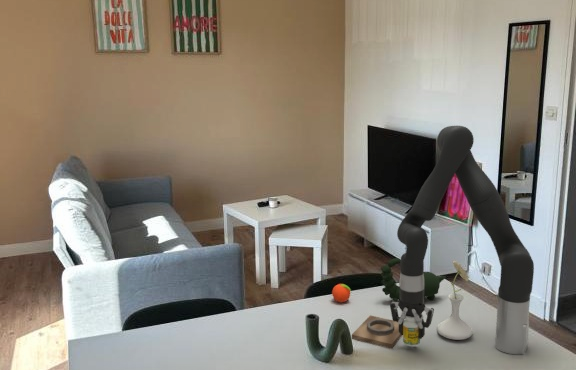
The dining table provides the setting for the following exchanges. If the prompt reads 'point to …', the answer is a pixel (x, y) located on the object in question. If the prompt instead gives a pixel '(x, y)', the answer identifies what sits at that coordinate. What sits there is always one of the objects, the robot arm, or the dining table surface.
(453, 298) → the flower in vase
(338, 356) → the dining table surface
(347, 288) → the clementine
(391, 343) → the collar board
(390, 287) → the toy figurine
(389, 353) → the dining table surface
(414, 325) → the supplement bottle
